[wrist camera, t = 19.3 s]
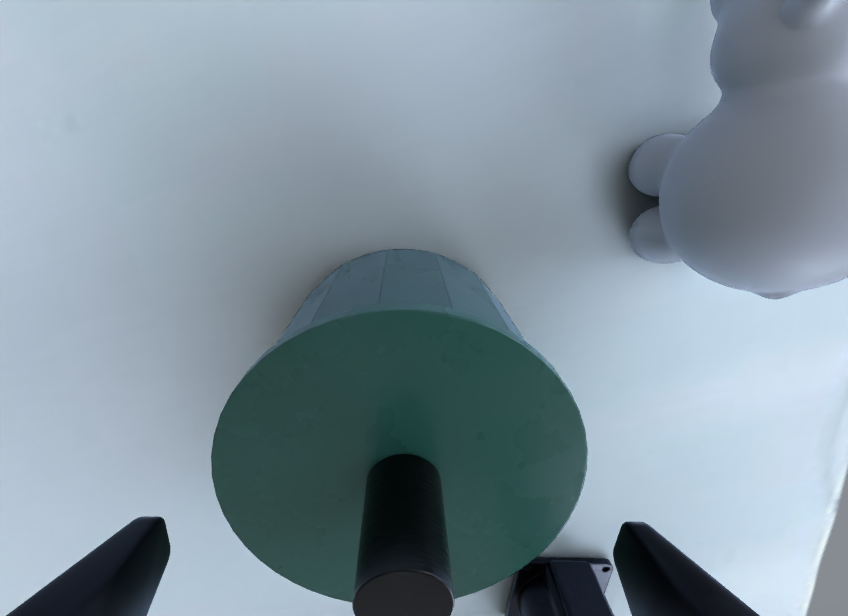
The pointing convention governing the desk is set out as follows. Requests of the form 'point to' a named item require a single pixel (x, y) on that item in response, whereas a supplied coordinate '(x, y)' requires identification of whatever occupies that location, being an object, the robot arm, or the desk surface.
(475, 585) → the tin lid
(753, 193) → the round bodied animal figurine
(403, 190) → the desk surface
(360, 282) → the tin
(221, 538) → the desk surface
